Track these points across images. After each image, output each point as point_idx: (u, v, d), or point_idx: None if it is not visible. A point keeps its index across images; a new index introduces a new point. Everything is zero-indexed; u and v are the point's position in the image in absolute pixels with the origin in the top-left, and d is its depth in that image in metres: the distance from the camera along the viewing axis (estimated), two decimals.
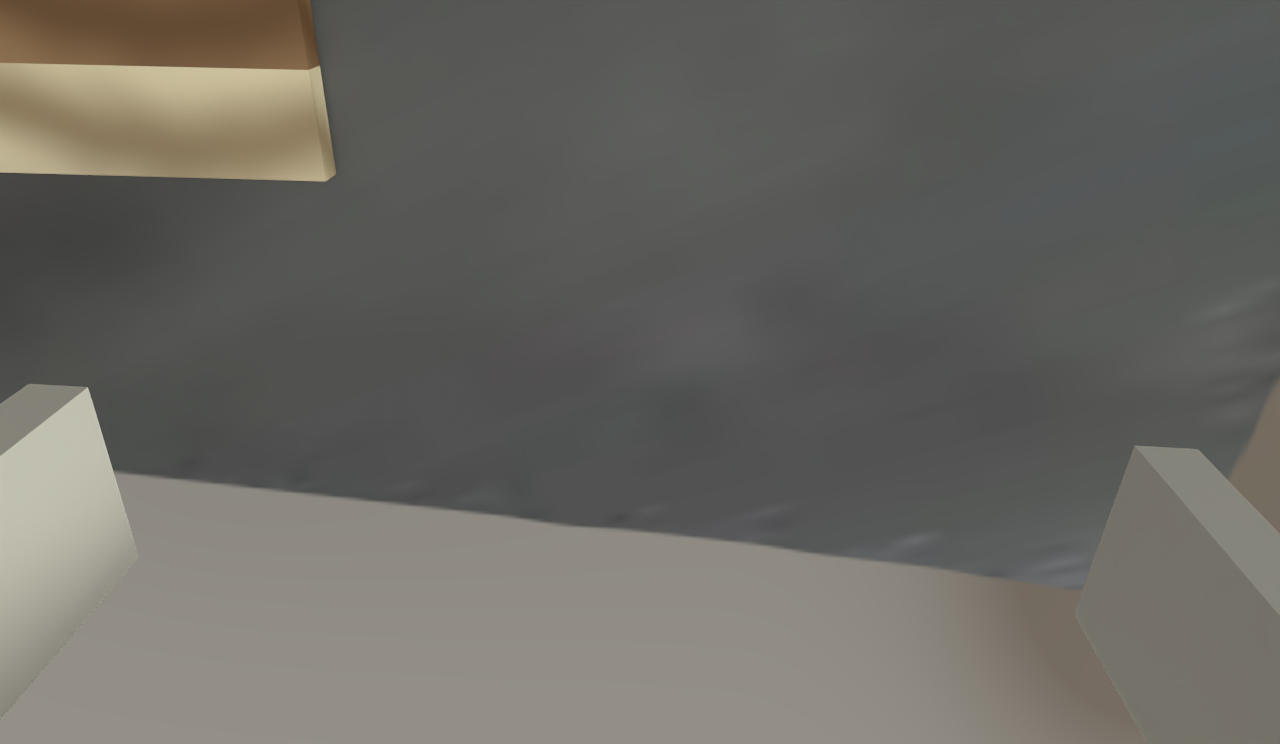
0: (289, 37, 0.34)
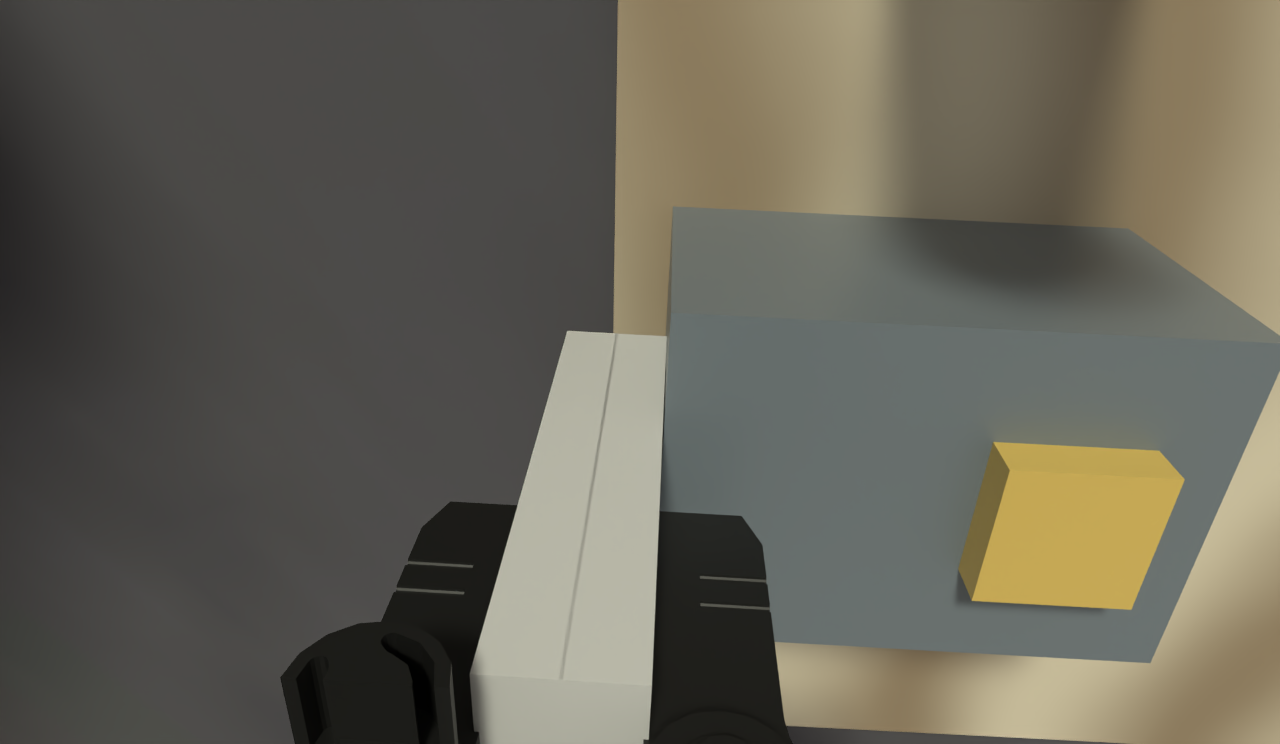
0: None
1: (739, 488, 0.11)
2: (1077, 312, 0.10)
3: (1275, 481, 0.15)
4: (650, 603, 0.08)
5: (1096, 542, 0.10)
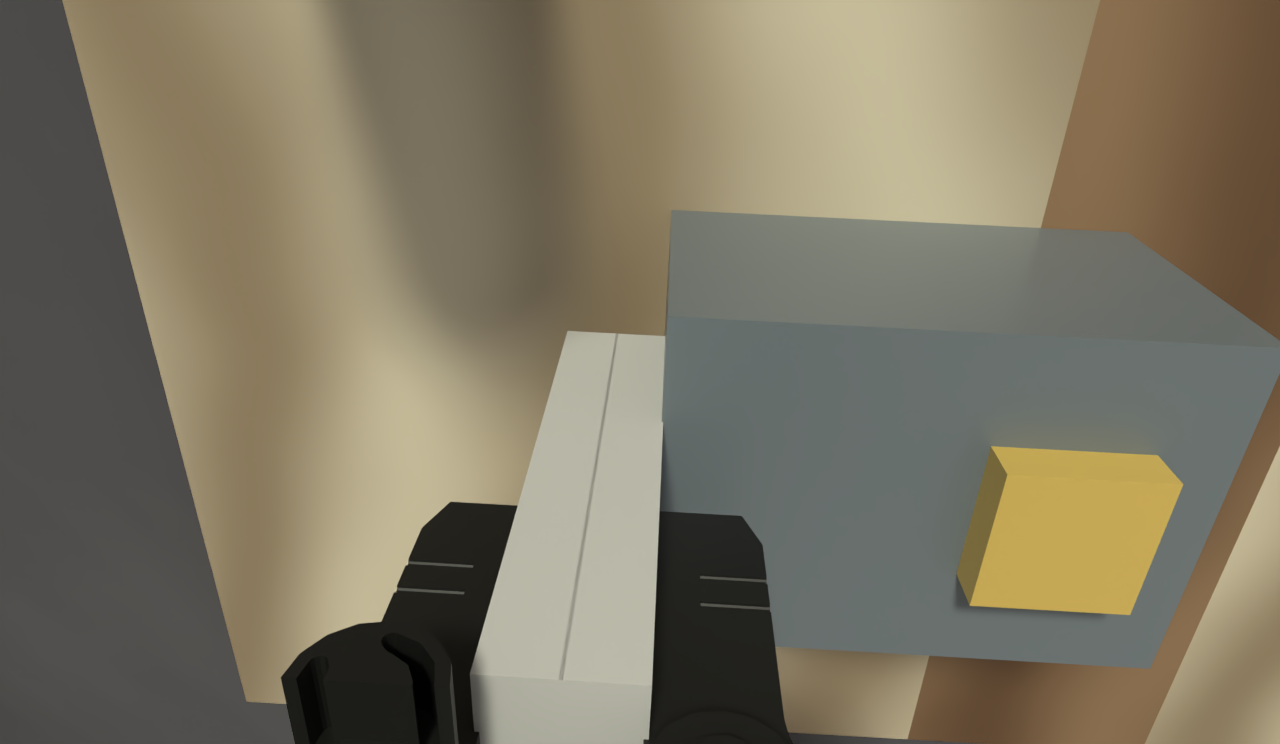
0: None
1: (737, 492, 0.11)
2: (1076, 316, 0.10)
3: None
4: (650, 603, 0.08)
5: (1095, 547, 0.10)
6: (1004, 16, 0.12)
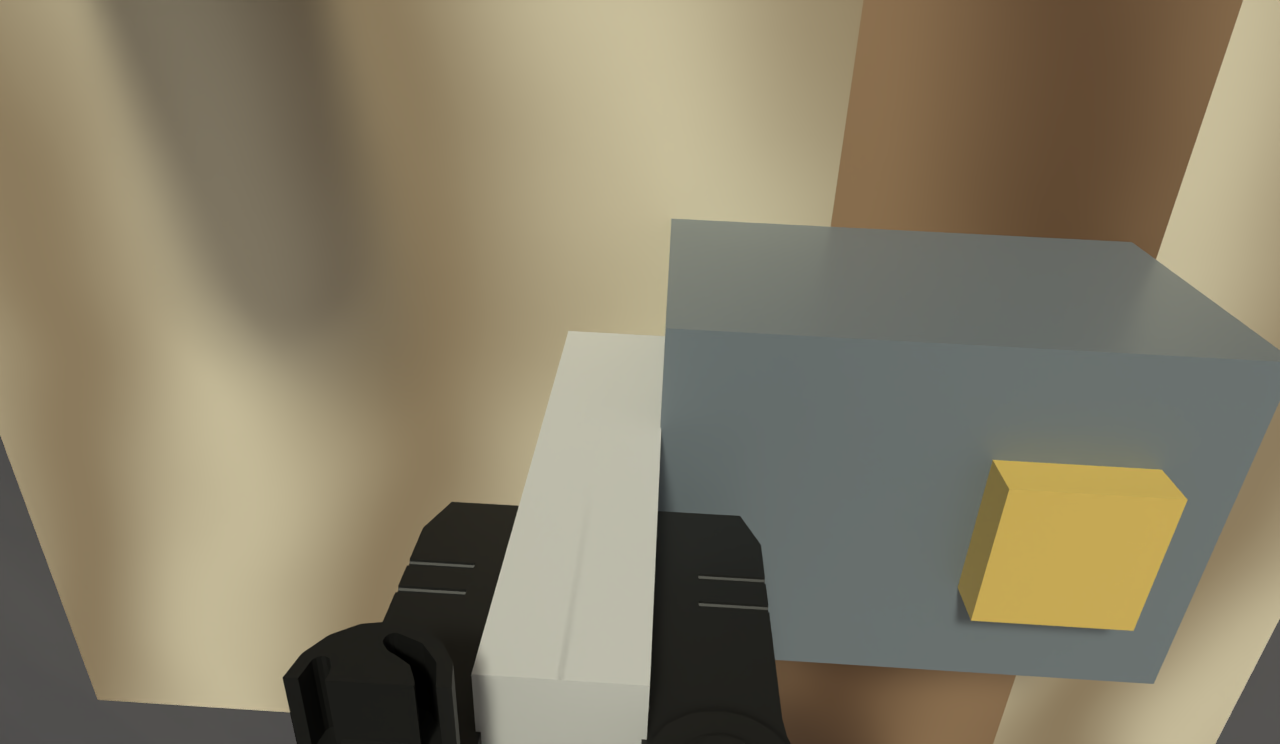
0: None
1: (736, 505, 0.11)
2: (1079, 328, 0.10)
3: None
4: (648, 603, 0.08)
5: (1097, 561, 0.10)
6: (769, 20, 0.12)
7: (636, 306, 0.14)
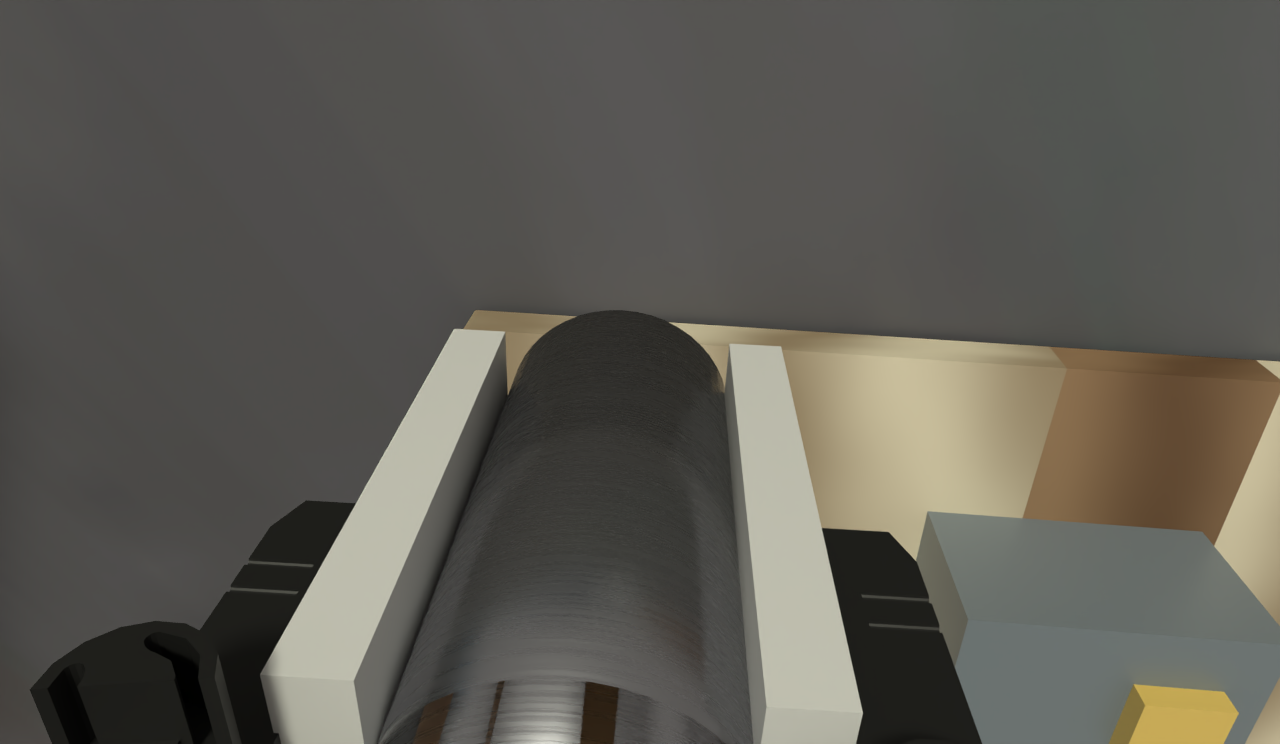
0: (1223, 399, 0.20)
1: (990, 701, 0.20)
2: (1180, 617, 0.19)
3: None
4: (838, 626, 0.08)
5: (1190, 740, 0.19)
6: (999, 419, 0.21)
7: None
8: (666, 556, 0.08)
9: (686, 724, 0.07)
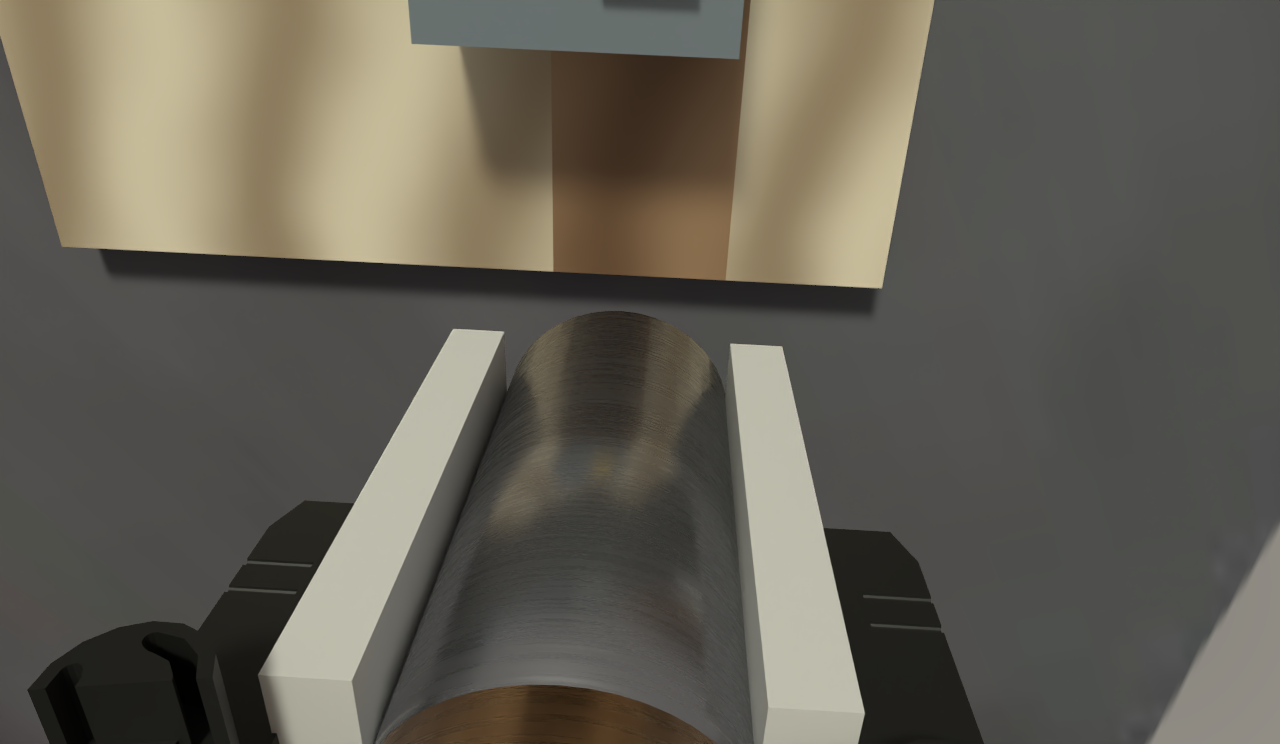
0: None
1: None
2: None
3: None
4: (840, 626, 0.08)
5: None
6: None
7: None
8: (664, 559, 0.08)
9: (684, 732, 0.07)
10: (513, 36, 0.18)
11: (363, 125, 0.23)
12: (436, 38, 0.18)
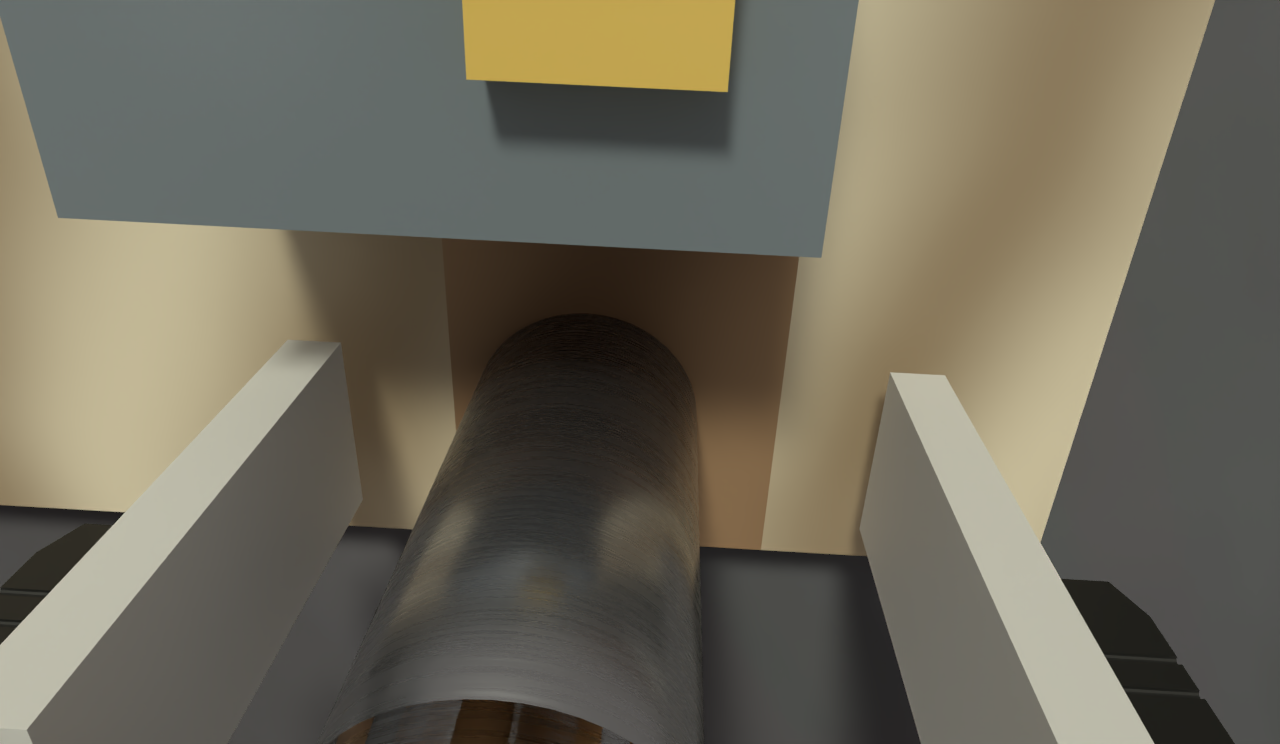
0: None
1: None
2: None
3: None
4: (1124, 700, 0.07)
5: None
6: None
7: None
8: (612, 570, 0.08)
9: None
10: (290, 204, 0.08)
11: (105, 300, 0.13)
12: (111, 207, 0.08)
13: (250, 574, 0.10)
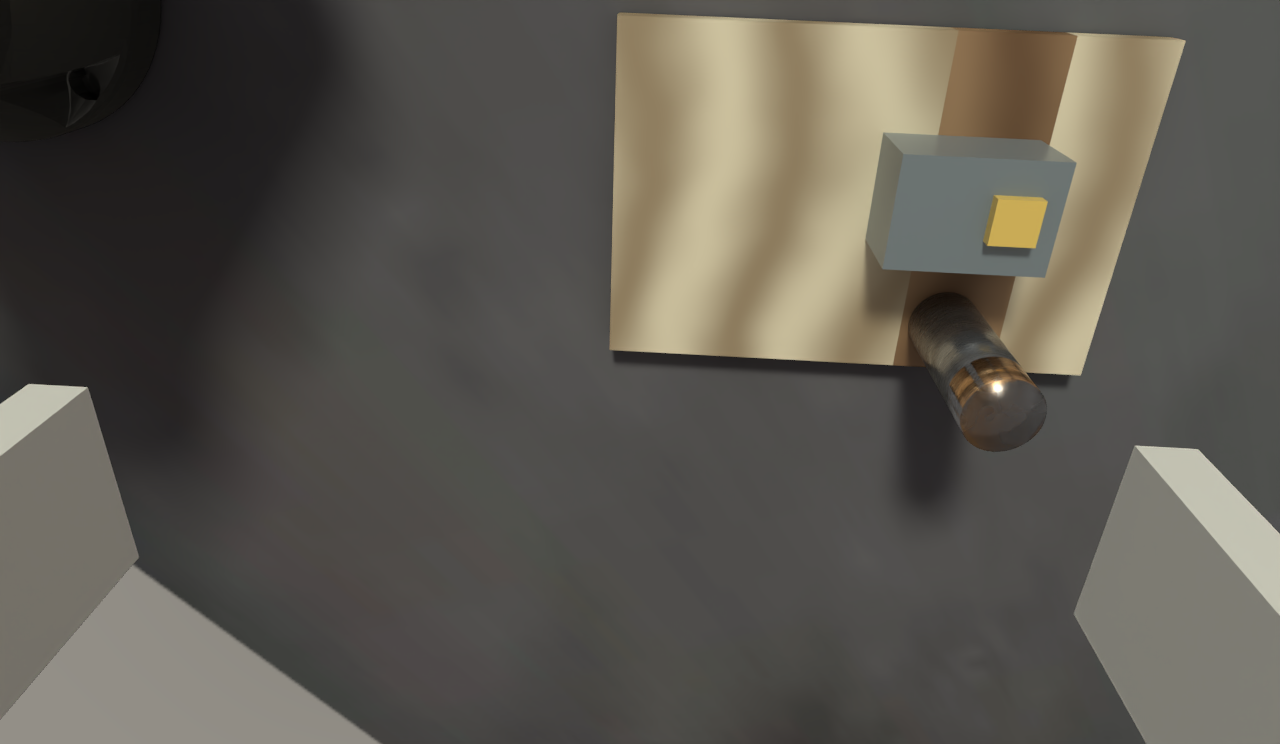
0: (1045, 48, 0.37)
1: (917, 212, 0.36)
2: (1018, 156, 0.35)
3: (861, 232, 0.41)
4: None
5: (1023, 223, 0.36)
6: (922, 65, 0.37)
7: (866, 165, 0.39)
8: (1000, 343, 0.37)
9: (1017, 366, 0.36)
10: (934, 266, 0.37)
11: (802, 288, 0.42)
12: (895, 267, 0.37)
13: None
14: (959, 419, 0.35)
